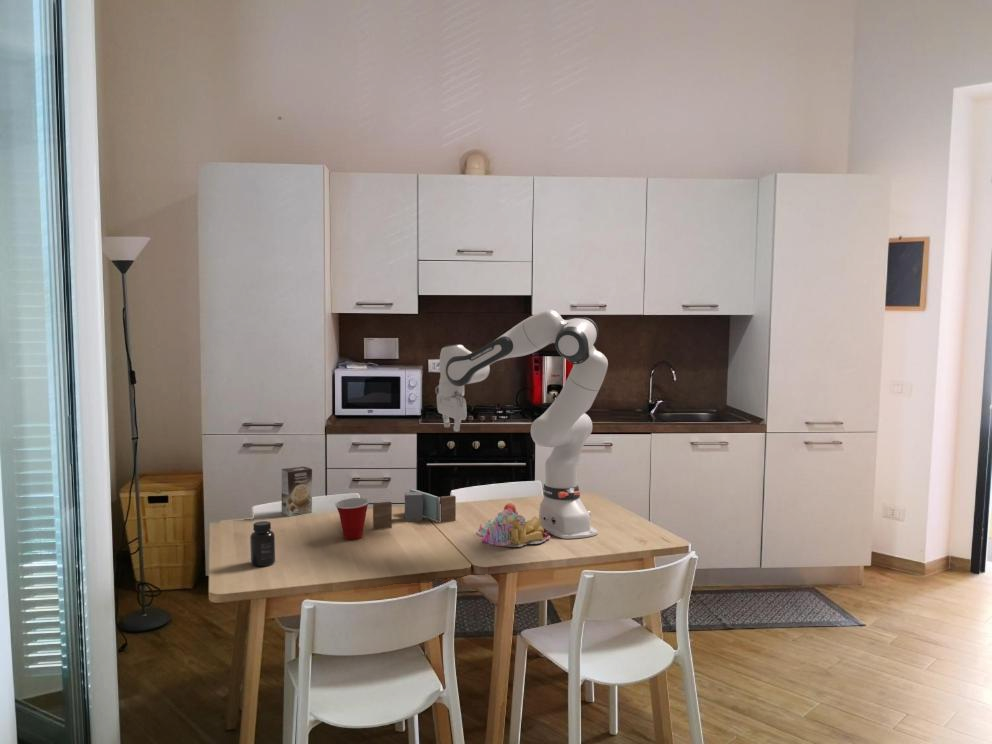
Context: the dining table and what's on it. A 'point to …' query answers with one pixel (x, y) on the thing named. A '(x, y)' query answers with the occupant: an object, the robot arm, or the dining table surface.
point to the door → (430, 505)
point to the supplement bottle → (262, 544)
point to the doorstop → (413, 506)
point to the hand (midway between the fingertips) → (451, 429)
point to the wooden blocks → (384, 512)
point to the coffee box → (296, 491)
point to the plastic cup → (352, 517)
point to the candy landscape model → (513, 529)
